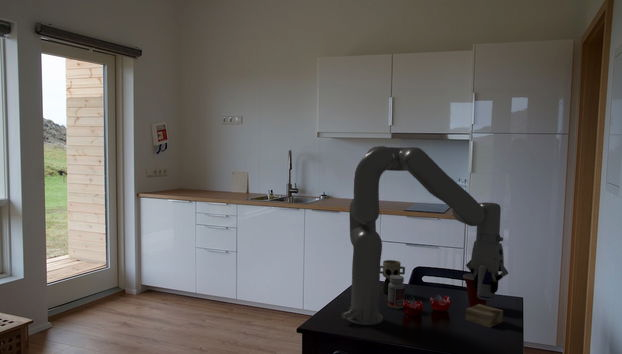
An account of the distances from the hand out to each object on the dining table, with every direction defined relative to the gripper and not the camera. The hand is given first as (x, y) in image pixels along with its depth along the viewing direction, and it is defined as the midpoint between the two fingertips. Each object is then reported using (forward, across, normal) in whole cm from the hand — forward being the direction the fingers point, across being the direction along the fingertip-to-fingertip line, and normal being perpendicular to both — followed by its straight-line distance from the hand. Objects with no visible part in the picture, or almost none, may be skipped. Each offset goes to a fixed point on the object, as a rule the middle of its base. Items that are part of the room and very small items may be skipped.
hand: (485, 289), depth 165 cm
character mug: (+11, +41, 0) cm, 43 cm away
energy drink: (+3, 0, 0) cm, 3 cm away
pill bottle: (+11, +29, +12) cm, 33 cm away
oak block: (+11, 0, 0) cm, 11 cm away
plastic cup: (+11, +10, -13) cm, 20 cm away
